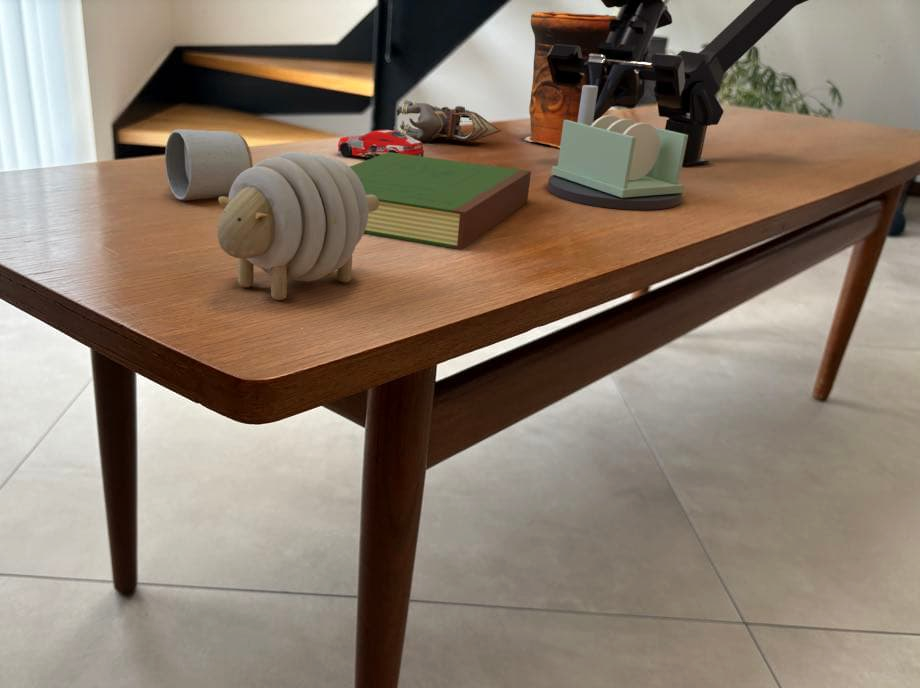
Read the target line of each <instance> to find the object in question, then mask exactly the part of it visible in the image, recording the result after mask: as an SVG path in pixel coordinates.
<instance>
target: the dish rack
mask: <svg viewBox="0 0 920 688" xmlns="http://www.w3.org/2000/svg"><path fill="white" fill-rule="evenodd" d="M597 92H598V86H592V85H583V87H582V94H581V101H580V108H579V115H578V122H573V121H569V120H564V122H563V130H562V137H561V144H560V148H559V153H558V159H557V165H556V166H555V165H554V166H551V171H550V175H556V176H559V177H562V178H565V179H568V180H571V181H574V182H576V183H579V184H582V185H585V186H588V187H591V188H594V189H597V190H600V191H603V192H606V193H609V194H612V195H615V196H618V197H621V198H626V197H638V196H650V195H663V194H675V193H682V194H683V193H684V188H685V184H682V183H680V178H681V174H682V173H681V172H682V168H683V165H682V164H683V159H684V154H685V149H686V144H687V139H688V135H686V134H682V133H677V132H673V131H669V130H665V128H659V127H656V126H653V125H652V124H650V123H647V122H636V121H634V120H633V119H629V118H621V117H618V116H616V115H612V114H606V115H605V114H604V115H602V116H601V117H600V118H599V119H597V120H596V121H595V122H594V123H593V118H594V112H595V105H596V99H597Z"/></svg>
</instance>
